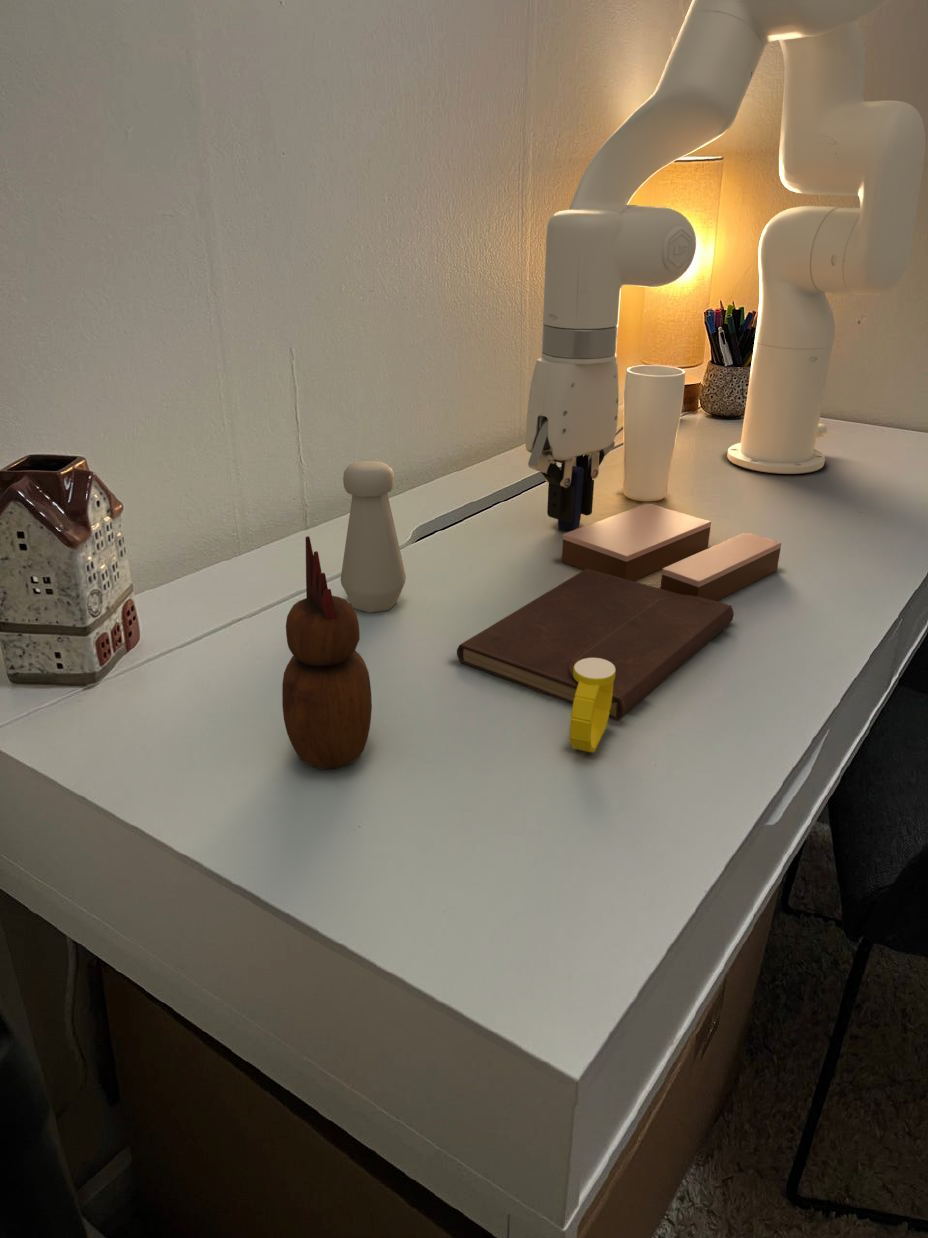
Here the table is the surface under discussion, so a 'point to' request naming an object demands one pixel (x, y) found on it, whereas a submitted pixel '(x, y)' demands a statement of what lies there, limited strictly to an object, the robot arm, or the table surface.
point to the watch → (591, 702)
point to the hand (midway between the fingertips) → (569, 514)
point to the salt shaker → (371, 540)
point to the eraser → (575, 500)
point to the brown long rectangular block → (723, 567)
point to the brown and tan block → (636, 542)
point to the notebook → (598, 637)
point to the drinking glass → (650, 428)
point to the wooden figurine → (325, 676)
